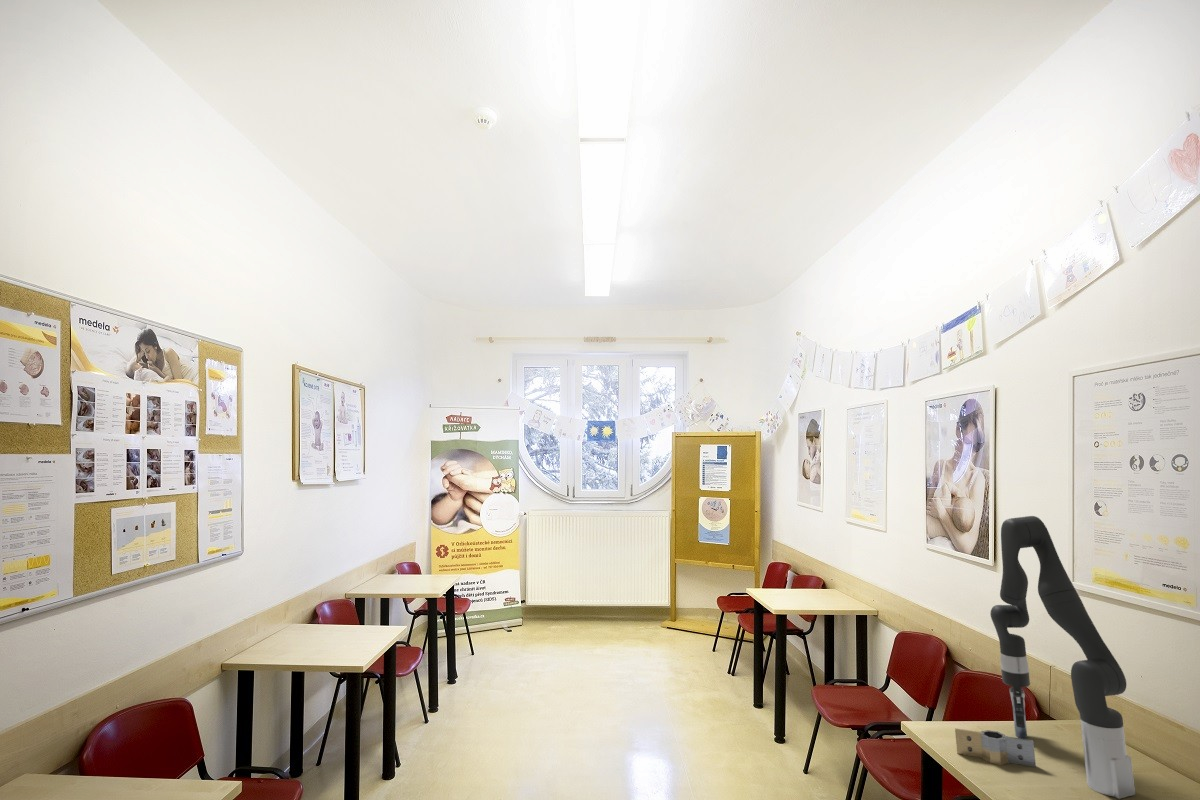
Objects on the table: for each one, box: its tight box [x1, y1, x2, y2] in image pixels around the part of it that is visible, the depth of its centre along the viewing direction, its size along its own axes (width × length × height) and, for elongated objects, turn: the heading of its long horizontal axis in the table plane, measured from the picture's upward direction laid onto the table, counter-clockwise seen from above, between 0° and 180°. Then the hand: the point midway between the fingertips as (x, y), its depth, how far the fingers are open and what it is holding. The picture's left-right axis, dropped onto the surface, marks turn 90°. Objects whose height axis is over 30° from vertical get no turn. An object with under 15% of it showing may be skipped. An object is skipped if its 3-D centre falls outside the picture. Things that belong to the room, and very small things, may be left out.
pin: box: [1012, 705, 1028, 739], centre depth 203 cm, size 3×3×12 cm
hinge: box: [954, 727, 1037, 768], centre depth 188 cm, size 20×6×7 cm, turn 60°
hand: (1020, 723), depth 203 cm, fingers open, 5 cm apart
